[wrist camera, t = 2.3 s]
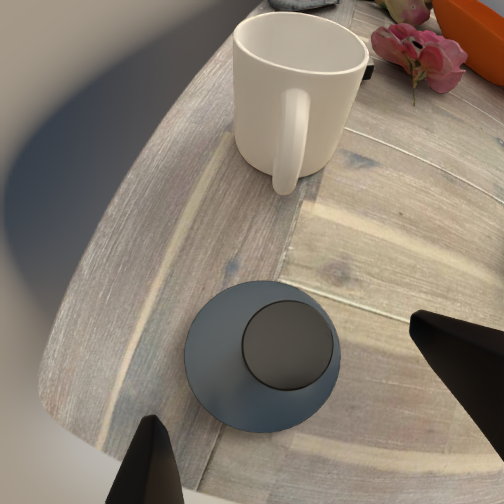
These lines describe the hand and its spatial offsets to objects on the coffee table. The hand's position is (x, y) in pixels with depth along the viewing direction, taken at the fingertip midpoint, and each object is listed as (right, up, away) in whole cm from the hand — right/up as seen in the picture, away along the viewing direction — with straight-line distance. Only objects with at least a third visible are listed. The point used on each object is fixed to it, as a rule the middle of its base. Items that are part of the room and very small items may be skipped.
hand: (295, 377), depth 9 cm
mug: (+1, +11, +15) cm, 19 cm away
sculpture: (+24, +52, +28) cm, 63 cm away
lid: (-1, -2, +9) cm, 9 cm away
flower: (+18, +25, +21) cm, 37 cm away
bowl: (+39, +38, +27) cm, 60 cm away
